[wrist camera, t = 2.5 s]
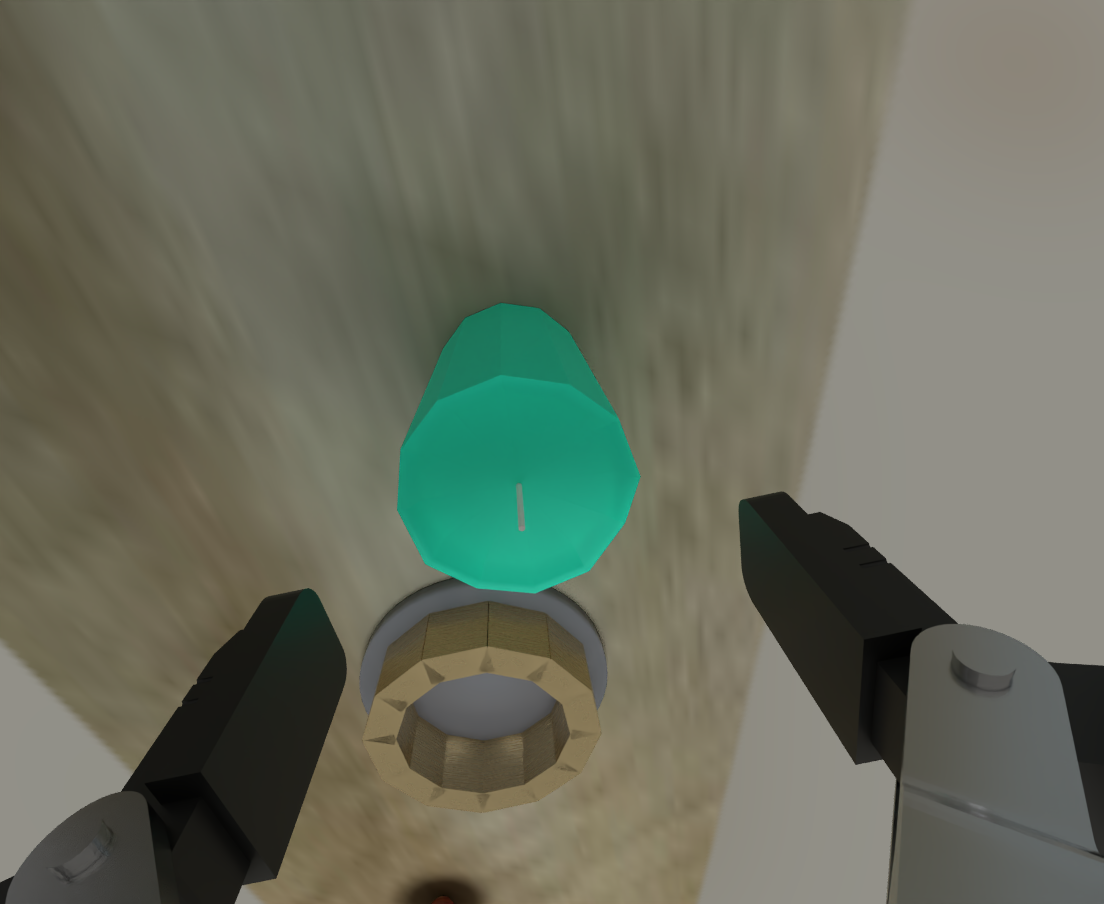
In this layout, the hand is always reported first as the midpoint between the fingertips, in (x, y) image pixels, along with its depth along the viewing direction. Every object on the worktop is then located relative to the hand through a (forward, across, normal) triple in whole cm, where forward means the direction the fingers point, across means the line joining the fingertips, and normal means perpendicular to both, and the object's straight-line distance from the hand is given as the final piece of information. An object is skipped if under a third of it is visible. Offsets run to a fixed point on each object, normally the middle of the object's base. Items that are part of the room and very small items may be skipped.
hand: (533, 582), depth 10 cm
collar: (+14, +5, +16) cm, 22 cm away
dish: (+14, +5, +16) cm, 22 cm away
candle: (+14, 0, 0) cm, 14 cm away
